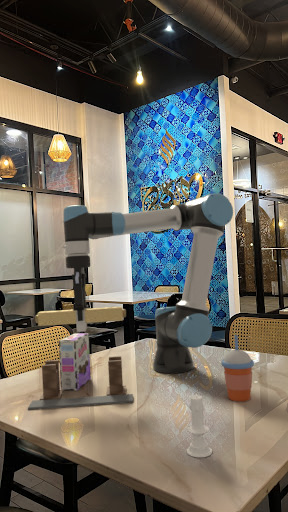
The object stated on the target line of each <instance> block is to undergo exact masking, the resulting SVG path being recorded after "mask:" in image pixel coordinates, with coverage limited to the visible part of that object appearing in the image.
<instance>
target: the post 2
mask: <svg viewBox="0 0 288 512" xmlns="http://www.w3.org/2000/svg"><path fill="white" fill-rule="evenodd" d="M122 362H123V361H122V355H118V356H115V355H114V356H108V360H107V363H108V365H107V366H108V385H109V386H106V395H105V396H110V395H124V394H127V386H126V385H124V384H123V381H124V380H123V365H122V364H123V363H122Z"/></svg>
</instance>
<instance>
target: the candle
mask: <svg viewBox="0 0 288 512" xmlns="http://www.w3.org/2000/svg"><path fill="white" fill-rule="evenodd" d="M189 399H190V400H189V401H190V402H189V403H190V404H189V410H190V413H191V415H190V416H191V425H190V426H188V427H187V428H186V431H187V432H188V433H190V434H192V435H193V438H192V441H191V442H190V443H189V447H188V448H187V449H186V454H187V455H188V456H190V457H193V458H198V459H200V458H206V457H209V456H211V455H212V454H213V449H212V448H211V447H210V446H209V443H208V442H207V441H206V438H205V437H204V435H206V434H207V433H208V432H209V431H210V427H209V426H207V425H205V417H204V416H205V415H204V414H205V413H204V411H205V408H204V401H203V400H204V399H203V396H202V395H198V394H195V393H194V395H192V396H190V397H189Z"/></svg>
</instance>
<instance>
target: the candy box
mask: <svg viewBox="0 0 288 512" xmlns="http://www.w3.org/2000/svg"><path fill="white" fill-rule="evenodd" d="M58 346H59V347H58V350H59V351H58V355H59V380H60V390H64V391H74V392H75V391H76V392H77V391H79V390H80V388H82V387H83V386H84V385H86V384H87V383H88V382H89V381H90V380H91V379H92V378H91V377H92V376H91V374H92V373H91V358H90V355H91V354H90V339H89V333H87V332H86V333H83V332H79V333H78V332H77V333H73V334H71V335H68V336H67V337H64V338H62V339H60V340H58Z"/></svg>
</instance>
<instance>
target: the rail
mask: <svg viewBox="0 0 288 512" xmlns="http://www.w3.org/2000/svg"><path fill="white" fill-rule="evenodd" d="M84 310H85V323H87V324H91V323H106V322H120V321H124V318H126V317H127V309H125V308H123V306H109V307H94V308H93V307H92V308H91V307H89V308H86V309H84ZM34 320H35V323H36V324H38V325H37V327H44V326H57V325H59V326H61V325H75V324H76V311H73V309H64V310H63V309H62V310H59V309H58V310H45V311H44V310H43V311H39V312H37V314H36V315H35V316H34Z"/></svg>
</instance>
